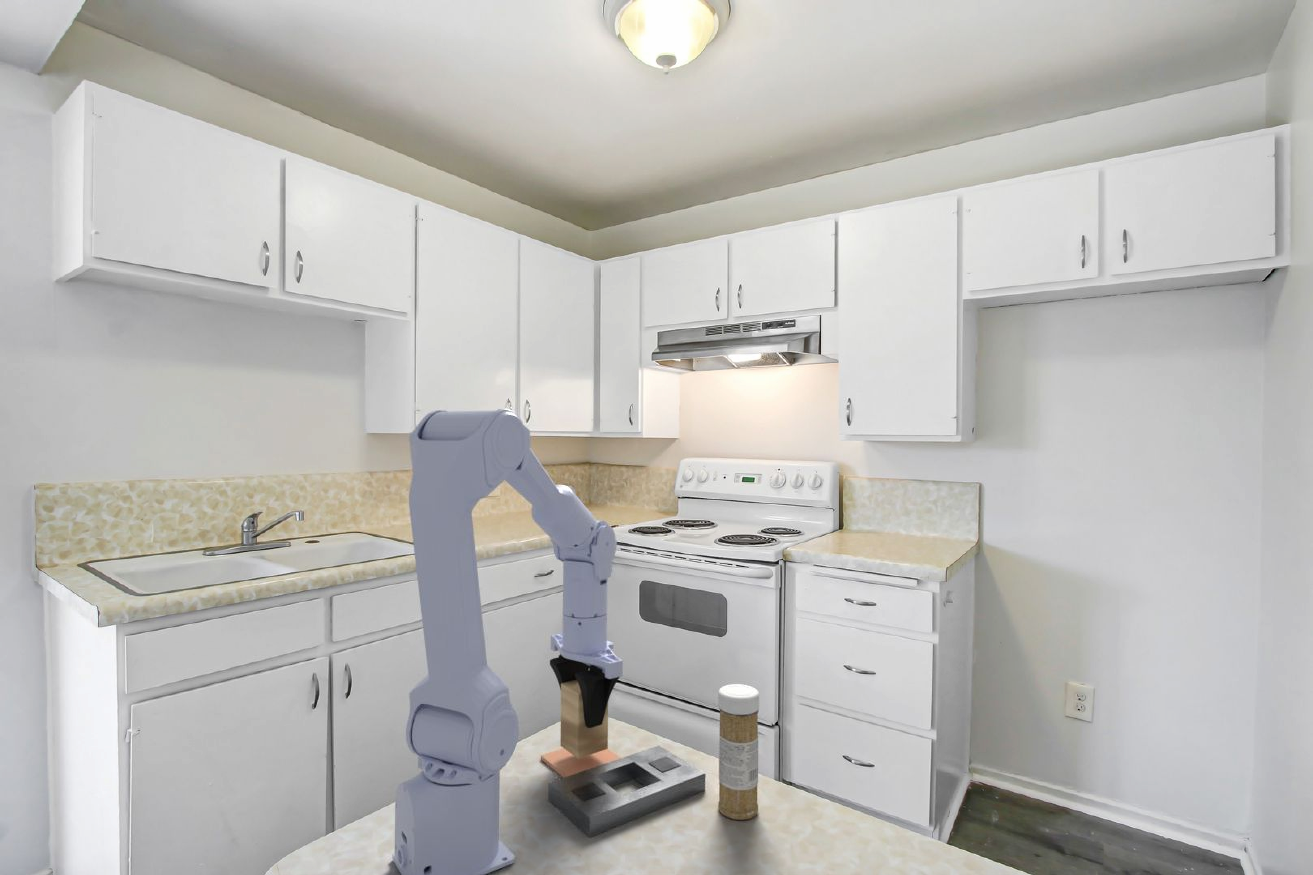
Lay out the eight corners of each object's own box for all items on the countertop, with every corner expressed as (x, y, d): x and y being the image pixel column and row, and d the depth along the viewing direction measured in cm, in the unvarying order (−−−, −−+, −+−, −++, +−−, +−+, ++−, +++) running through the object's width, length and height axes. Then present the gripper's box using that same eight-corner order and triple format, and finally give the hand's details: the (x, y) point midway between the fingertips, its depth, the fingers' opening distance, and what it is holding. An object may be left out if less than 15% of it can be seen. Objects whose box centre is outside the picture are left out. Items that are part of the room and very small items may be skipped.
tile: (572, 784, 79) (572, 780, 79) (540, 759, 86) (540, 755, 86) (626, 765, 84) (626, 761, 84) (593, 742, 90) (593, 739, 90)
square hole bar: (589, 837, 68) (590, 816, 69) (548, 800, 76) (548, 781, 76) (705, 789, 78) (705, 772, 78) (658, 761, 85) (658, 744, 85)
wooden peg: (578, 758, 82) (578, 693, 82) (560, 745, 85) (560, 683, 86) (607, 748, 85) (608, 685, 85) (589, 736, 88) (590, 676, 88)
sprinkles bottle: (737, 795, 77) (738, 679, 77) (767, 812, 74) (767, 690, 74) (709, 808, 74) (709, 688, 74) (738, 826, 71) (739, 700, 71)
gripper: (643, 619, 82) (642, 730, 82) (582, 598, 93) (581, 694, 93) (594, 629, 78) (593, 745, 77) (537, 605, 89) (536, 706, 89)
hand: (583, 718), depth 85 cm, fingers closed on wooden peg, 4 cm apart
